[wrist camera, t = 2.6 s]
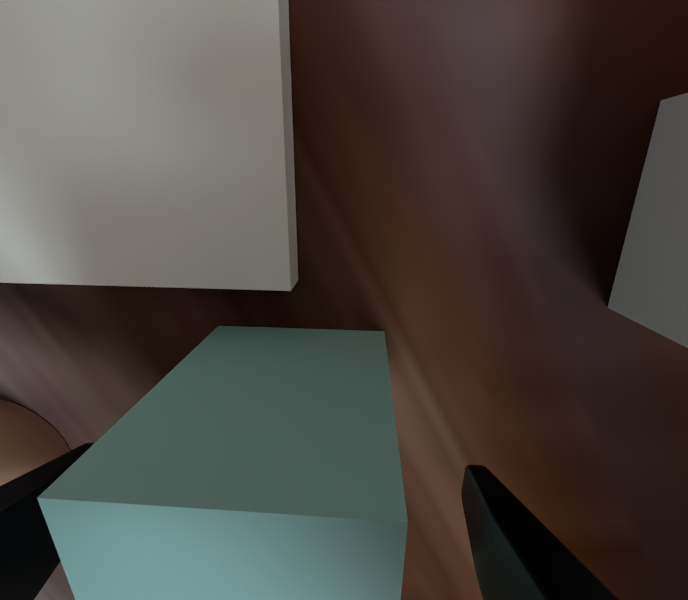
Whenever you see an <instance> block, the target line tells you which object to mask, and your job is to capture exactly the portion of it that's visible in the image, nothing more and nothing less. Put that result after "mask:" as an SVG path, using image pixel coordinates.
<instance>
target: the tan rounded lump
mask: <svg viewBox="0 0 688 600" xmlns="http://www.w3.org/2000/svg"><path fill="white" fill-rule="evenodd" d="M69 451H71V450H70V448H69V446H68V445H67V443H66V442H65V440H64V439H63V438H62V437H61V435H60V434H59V433H58V432H57V431H56V430H55V429H54V428H53V427H52V426H51V425H50V424H49V423H47V422H46V421H45V420H44V419H42V418H41V417H40V416H38V415H37V414H35V413H33V412H32V411H30V410H28V409H26V408H24V407H22V406H20V405H18V404H15V403H12V402H9V401H6V400H2V399H0V486H1V485H3V484H5V483H7V482H9V481H11V480H13V479H15V478H17V477H19V476H21V475H23V474H25V473H27V472H29V471H31V470H33V469H35V468H37V467H39V466H41V465H43V464H45V463H47V462H49V461H51V460H53V459H55V458H57V457H59V456H61V455H63V454H65V453H67V452H69Z"/></svg>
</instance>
